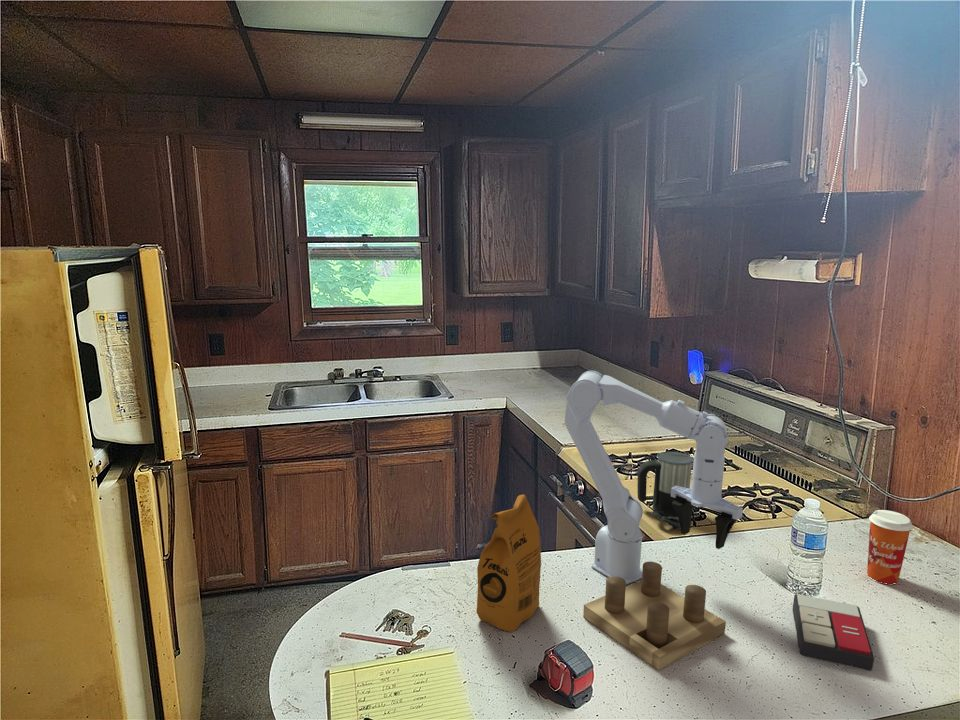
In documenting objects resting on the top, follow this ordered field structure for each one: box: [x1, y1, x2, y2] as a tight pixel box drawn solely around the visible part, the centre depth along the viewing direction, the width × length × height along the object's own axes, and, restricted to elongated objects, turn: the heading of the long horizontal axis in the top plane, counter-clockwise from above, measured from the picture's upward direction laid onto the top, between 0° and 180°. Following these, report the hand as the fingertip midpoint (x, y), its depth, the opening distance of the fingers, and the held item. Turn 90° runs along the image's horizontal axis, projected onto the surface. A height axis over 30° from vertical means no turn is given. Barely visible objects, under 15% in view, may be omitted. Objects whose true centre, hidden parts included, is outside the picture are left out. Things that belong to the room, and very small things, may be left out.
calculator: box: [792, 593, 875, 672], centre depth 114 cm, size 11×4×15 cm
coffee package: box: [475, 494, 542, 633], centre depth 119 cm, size 10×12×22 cm
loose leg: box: [646, 602, 669, 649], centre depth 110 cm, size 4×4×8 cm
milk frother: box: [636, 451, 694, 529], centre depth 161 cm, size 14×16×15 cm
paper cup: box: [866, 509, 914, 584], centre depth 133 cm, size 8×8×14 cm
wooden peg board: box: [582, 561, 727, 671], centre depth 117 cm, size 18×18×8 cm
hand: (702, 540), depth 129 cm, fingers open, 7 cm apart
